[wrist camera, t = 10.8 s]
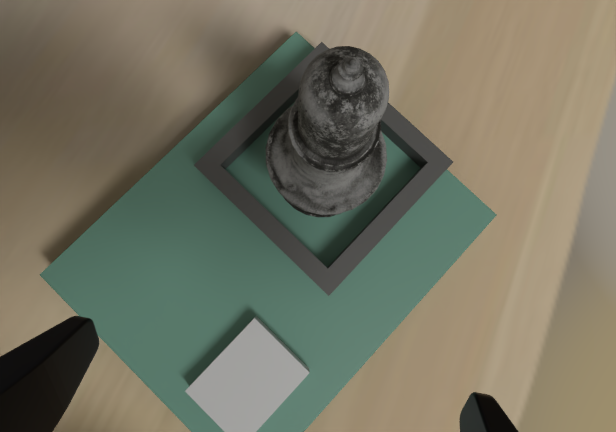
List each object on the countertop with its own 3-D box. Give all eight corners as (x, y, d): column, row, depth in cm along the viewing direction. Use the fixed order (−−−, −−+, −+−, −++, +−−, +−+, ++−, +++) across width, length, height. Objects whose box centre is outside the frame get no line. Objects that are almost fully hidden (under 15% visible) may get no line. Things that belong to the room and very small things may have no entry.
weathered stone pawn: (254, 201, 21) (203, 123, 9) (291, 108, 22) (286, -73, 10) (352, 237, 21) (425, 205, 9) (386, 143, 22) (492, 1, 10)
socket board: (253, 475, 21) (246, 507, 18) (57, 274, 22) (23, 275, 19) (483, 217, 23) (508, 212, 21) (296, 45, 24) (296, 18, 22)
